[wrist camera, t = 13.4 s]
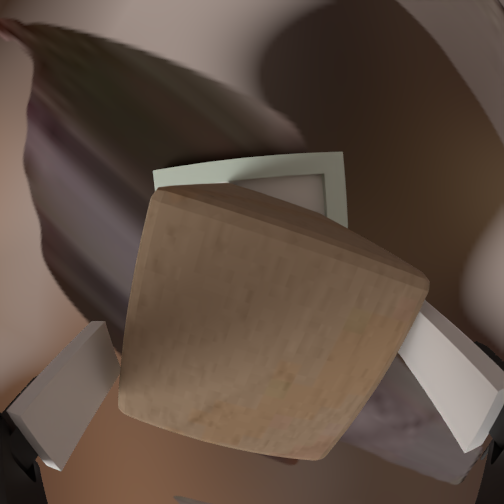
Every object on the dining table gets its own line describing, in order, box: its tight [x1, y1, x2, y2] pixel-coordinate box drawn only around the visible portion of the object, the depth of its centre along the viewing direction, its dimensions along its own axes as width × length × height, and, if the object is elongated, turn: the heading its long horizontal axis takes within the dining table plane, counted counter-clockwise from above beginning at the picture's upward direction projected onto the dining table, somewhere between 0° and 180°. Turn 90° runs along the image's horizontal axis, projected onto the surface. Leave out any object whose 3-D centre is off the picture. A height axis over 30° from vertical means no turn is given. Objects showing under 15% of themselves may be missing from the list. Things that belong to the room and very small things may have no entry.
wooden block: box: [118, 183, 430, 461], centre depth 19 cm, size 10×10×20 cm
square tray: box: [153, 152, 348, 228], centre depth 29 cm, size 18×18×2 cm
